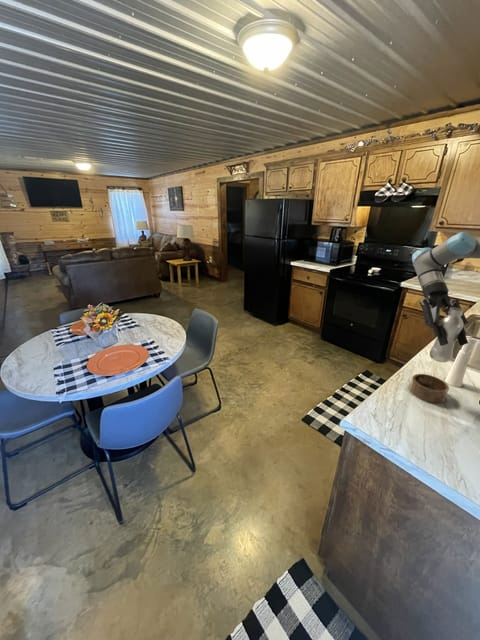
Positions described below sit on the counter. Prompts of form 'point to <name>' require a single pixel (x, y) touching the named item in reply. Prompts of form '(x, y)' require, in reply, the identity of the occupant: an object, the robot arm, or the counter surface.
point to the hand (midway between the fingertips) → (454, 344)
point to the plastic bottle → (448, 335)
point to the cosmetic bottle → (460, 365)
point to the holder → (425, 393)
